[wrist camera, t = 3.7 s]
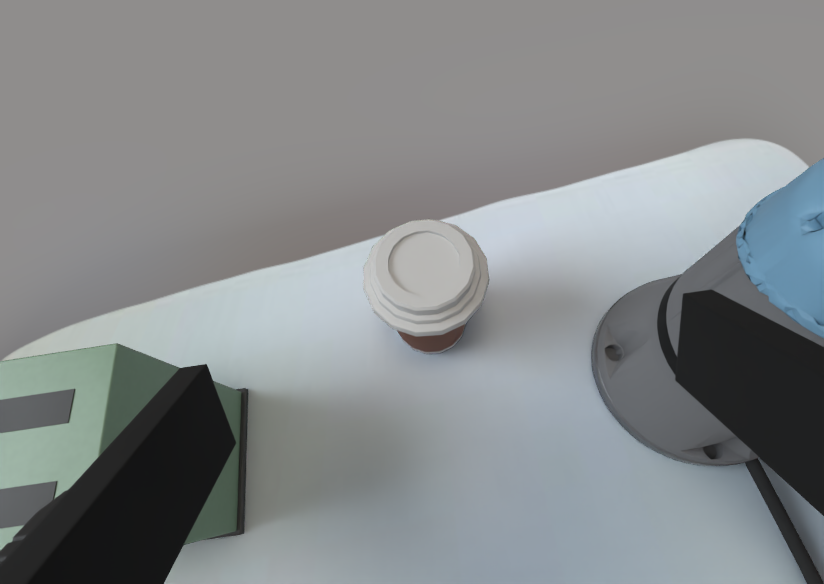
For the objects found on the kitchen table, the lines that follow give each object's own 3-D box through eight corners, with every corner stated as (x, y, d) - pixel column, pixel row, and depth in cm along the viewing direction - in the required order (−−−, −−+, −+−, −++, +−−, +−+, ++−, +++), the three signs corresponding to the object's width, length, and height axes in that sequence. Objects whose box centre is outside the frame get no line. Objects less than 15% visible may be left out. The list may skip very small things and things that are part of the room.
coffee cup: (484, 281, 41) (496, 210, 30) (475, 375, 37) (485, 333, 26) (391, 272, 42) (371, 200, 31) (374, 361, 38) (344, 316, 27)
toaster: (248, 389, 38) (122, 336, 24) (244, 533, 34) (84, 579, 19) (39, 420, 39) (-209, 387, 24) (7, 566, 34) (-324, 635, 20)
